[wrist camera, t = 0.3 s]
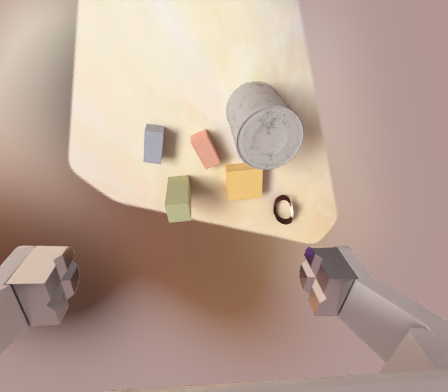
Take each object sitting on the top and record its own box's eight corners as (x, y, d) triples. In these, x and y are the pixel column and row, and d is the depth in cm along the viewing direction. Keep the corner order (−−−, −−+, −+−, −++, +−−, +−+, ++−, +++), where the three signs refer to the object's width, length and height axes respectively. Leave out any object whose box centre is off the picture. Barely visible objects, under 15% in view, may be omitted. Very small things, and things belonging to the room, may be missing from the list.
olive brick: (168, 177, 53) (164, 205, 46) (188, 175, 53) (188, 203, 46) (171, 193, 55) (169, 222, 48) (191, 191, 56) (191, 220, 49)
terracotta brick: (190, 135, 48) (190, 142, 46) (205, 128, 48) (206, 135, 46) (204, 161, 52) (205, 169, 50) (219, 155, 51) (220, 163, 49)
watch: (294, 215, 63) (298, 226, 60) (274, 220, 63) (278, 231, 61) (290, 190, 58) (295, 200, 56) (269, 196, 59) (273, 206, 56)
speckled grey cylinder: (291, 100, 46) (318, 128, 36) (258, 144, 51) (274, 179, 41) (247, 69, 43) (263, 91, 33) (215, 119, 47) (222, 152, 37)
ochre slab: (225, 164, 53) (226, 172, 51) (259, 160, 53) (263, 168, 51) (226, 192, 57) (228, 200, 55) (258, 189, 58) (261, 197, 55)
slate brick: (147, 123, 46) (144, 130, 44) (164, 126, 47) (163, 133, 45) (145, 154, 50) (143, 161, 47) (162, 156, 50) (160, 164, 48)
